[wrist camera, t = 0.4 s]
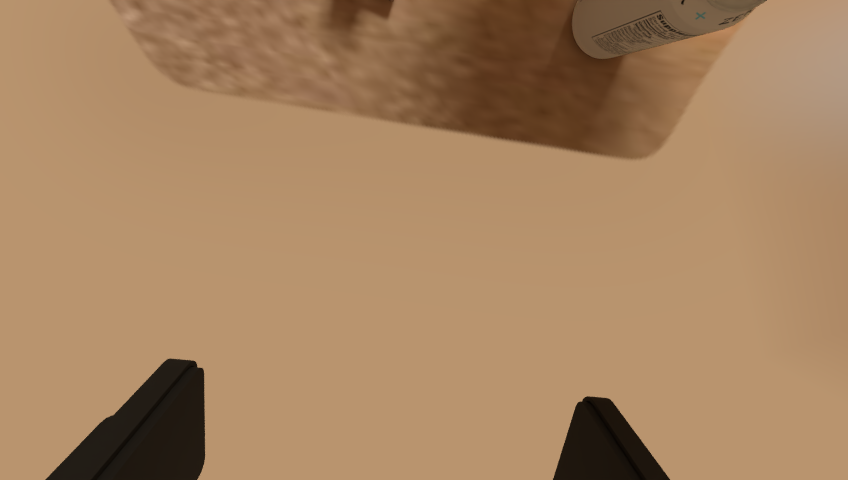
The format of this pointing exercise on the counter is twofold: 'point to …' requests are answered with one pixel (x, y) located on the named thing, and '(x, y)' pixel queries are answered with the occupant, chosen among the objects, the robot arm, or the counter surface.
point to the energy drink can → (650, 22)
